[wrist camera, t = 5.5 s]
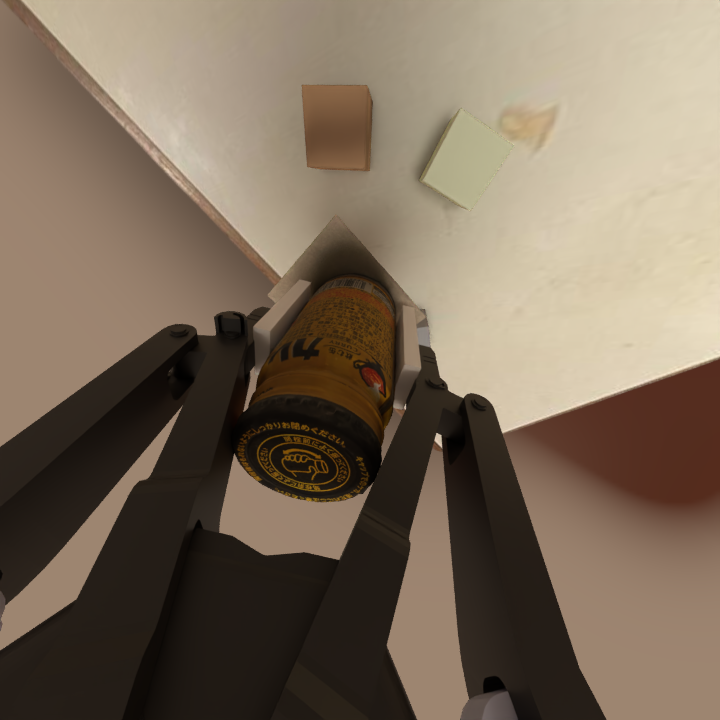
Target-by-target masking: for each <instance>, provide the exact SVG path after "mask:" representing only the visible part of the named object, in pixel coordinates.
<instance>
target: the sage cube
mask: <svg viewBox="0 0 720 720" xmlns="http://www.w3.org/2000/svg"><path fill="white" fill-rule="evenodd" d="M513 147H514V145H513V144H512V143H510V142H509V141H507V140H506V139H505V138H503V137H502V136H500V135H499V134H497V133H496V132H495V131H493V130H492V129H490V128H489V127H488V126H486V125H485V124H483V123H482V122H481V121H479V120H478V119H476V118H475V117H473V116H472V115H471V114H469V113H468V112H466V111H465V110H464V109H462V108H461V109H460V110H459V111H458V112H457V113H456V114H455V116H454V117H453V118H452V119H451V120H450V122H449V124H448V126H447V128H446V130H445V132H444V134H443V136H442V137H441V139H440V141H439V143H438V145H437V147H436V149H435V151H434V153H433V155H432V157H431V159H430V160H429V162H428V164H427V166H426V168H425V170H424V172H423V174H422V176H421V178H420V180H419V181H420V182H422V183H423V184H425V185H427V186H428V187H430V188H431V189H433V190H434V191H436V192H438V193H439V194H441V195H442V196H444V197H445V198H447V199H449V200H450V201H452V202H453V203H455V204H457V205H458V206H460V207H462V208H464V209H467V210H469V211H471V210H472V209H473V207H474V206H475V204H476V203H477V201H478V200H479V198H480V197H481V195H482V194H483V192H484V191H485V189H486V188H487V186H488V185H489V183H490V181H491V180H492V178H493V177H494V175H495V174H496V172H497V171H498V169H499V168H500V166H501V165H502V163H503V162H504V160H505V159H506V157H507V156H508V154H509V153H510V151H511V150H512V148H513Z"/></svg>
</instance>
